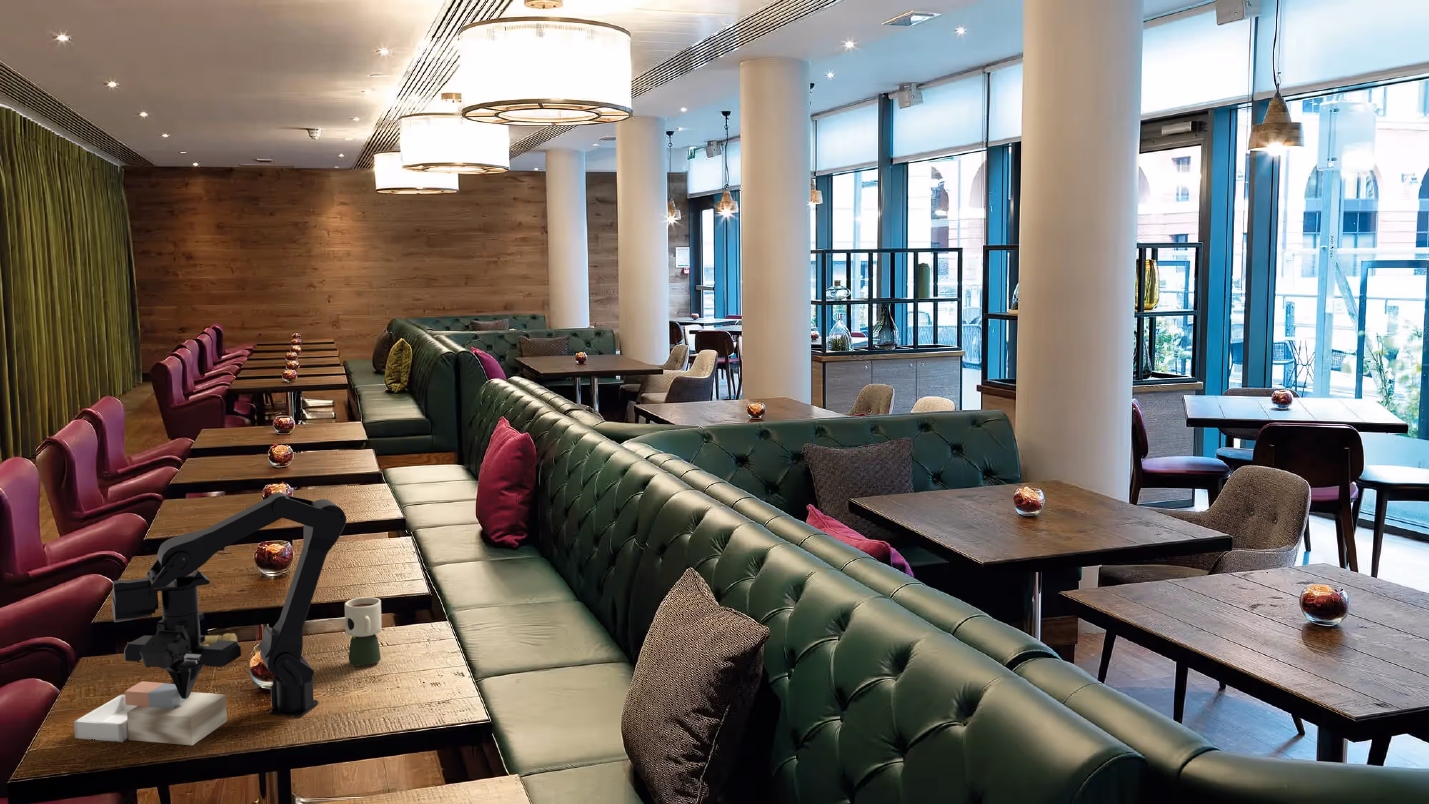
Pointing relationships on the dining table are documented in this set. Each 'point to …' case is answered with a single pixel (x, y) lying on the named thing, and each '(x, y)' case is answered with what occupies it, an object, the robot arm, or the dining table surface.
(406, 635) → the dining table surface
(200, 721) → the wooden square block
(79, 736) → the box
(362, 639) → the character mug
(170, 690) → the slate tile
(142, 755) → the dining table surface
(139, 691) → the terracotta tile
